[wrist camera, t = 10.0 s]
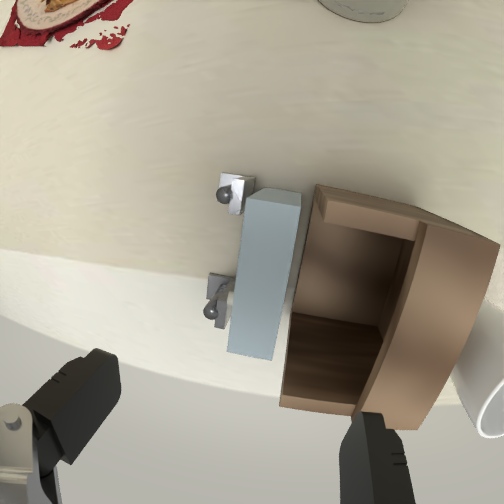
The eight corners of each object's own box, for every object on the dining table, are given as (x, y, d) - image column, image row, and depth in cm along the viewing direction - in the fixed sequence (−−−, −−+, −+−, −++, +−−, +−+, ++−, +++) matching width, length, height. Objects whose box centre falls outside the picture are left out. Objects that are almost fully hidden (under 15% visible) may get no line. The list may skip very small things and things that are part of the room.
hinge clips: (222, 172, 26) (204, 174, 21) (255, 177, 25) (244, 180, 21) (207, 296, 29) (190, 321, 24) (236, 302, 29) (224, 329, 24)
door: (253, 185, 26) (228, 195, 17) (301, 192, 25) (300, 206, 17) (238, 295, 29) (212, 348, 20) (281, 303, 28) (271, 360, 20)
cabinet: (316, 184, 25) (329, 202, 12) (417, 206, 24) (500, 244, 11) (290, 316, 28) (277, 417, 16) (381, 331, 27) (417, 430, 15)
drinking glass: (424, 344, 27) (479, 454, 13) (402, 291, 26) (470, 399, 12) (477, 310, 25) (556, 399, 11) (460, 255, 24) (561, 330, 10)
